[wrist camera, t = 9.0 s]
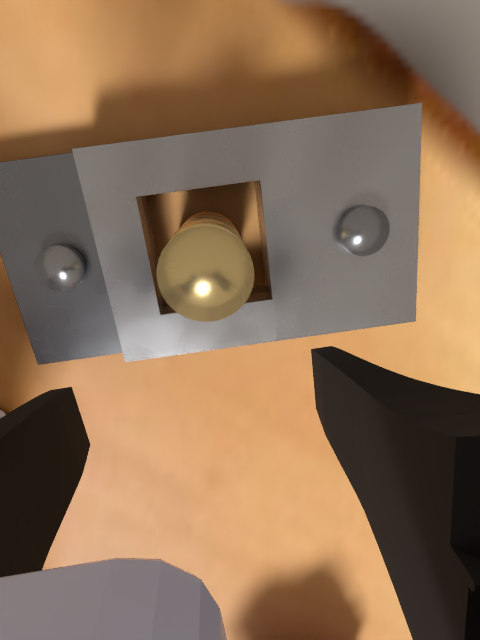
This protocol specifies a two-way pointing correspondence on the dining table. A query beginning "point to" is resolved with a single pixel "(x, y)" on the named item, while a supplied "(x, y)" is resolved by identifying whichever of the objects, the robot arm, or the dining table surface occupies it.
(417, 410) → the robot arm
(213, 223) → the brass pin
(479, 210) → the dining table surface
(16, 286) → the grey plate with knobs
